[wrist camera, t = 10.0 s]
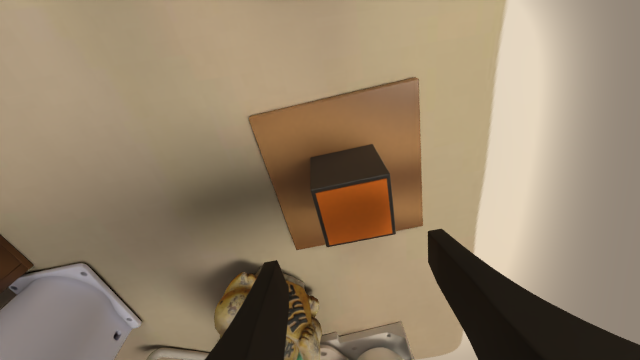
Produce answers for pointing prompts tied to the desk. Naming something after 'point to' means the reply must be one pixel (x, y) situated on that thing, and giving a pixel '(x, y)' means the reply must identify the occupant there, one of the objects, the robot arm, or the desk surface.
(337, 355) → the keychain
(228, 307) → the decorative figurine
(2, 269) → the walnut box
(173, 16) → the desk surface
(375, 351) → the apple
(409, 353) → the bracket
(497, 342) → the robot arm
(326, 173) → the puzzle cube
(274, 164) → the cork mat
